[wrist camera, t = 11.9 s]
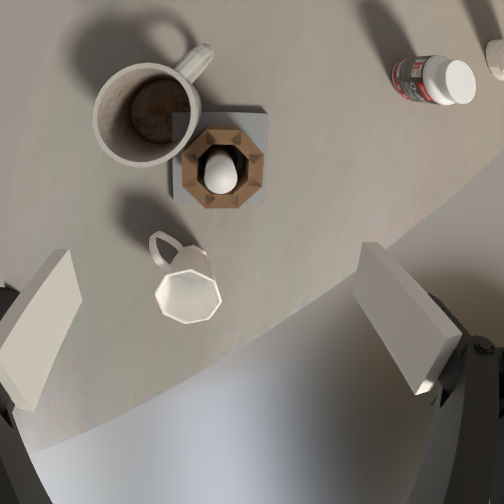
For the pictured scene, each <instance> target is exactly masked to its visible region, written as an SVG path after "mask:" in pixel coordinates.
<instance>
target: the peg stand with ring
mask: <svg viewBox="0 0 504 504" xmlns="http://www.w3.org/2000/svg"><path fill="white" fill-rule="evenodd" d="M268 117H269V114H267V113H246V112H201V117H200V121H199V124H198V126H197V128H196V130H195V131H194V133H193V134H192V136H191V137H190V139H189V140H188V141H187V143H186V144H185V146H184V147H183V148H182V149H181V150H180V151H179V152H178V153H177V154H176V155H175V156H173V157H172V158H173V197H174V203H199V202H198V201H197V200H196V199H195V198H194V197H193V196H192V195H191V194H190V193H189V192H188V191H186V190H185V189H184V188H183V187H182V152H183V151H184V149H185V148H186V146H187V145H188V144H189V143H190V142H191V141H192V140H193V139H194V138H195V137H196V136H197V135H198V134H199V133H200V132H201V131H202V130H203V129H204V128H205V127H206V126H207V125H237V126H238V127H239V128H240V129H241V130H242V131H243V132H244V133H245V134H246V135H247V137H248V138H249V139H250V140H251V141H252V142H253V143H254V144H255V145H256V146H257V147H258V148H259V149H260V150H261V152H262V153H263V154H264V166H263V182H262V187H261V188H260V189H259V190H258V191H257V192H256V193H255V194H253V195H252V196H251V197H250V198H249V199H248V200H247V201H246V202H245V203H263V198H264V183H265V167H266V150H267V134H268ZM190 118H191V112H174V113H172V143H173V142H175V141H177V140H179V139H180V138H182V137H183V136H184V135H185V134H186V132H187V129H188V127H189V123H190ZM242 167H243V153H242V152H241V151H240V150H239V149H238V148H237V147H236V146H235V145H223V144H212V145H211V146H210V147H209V148H208V149H207V150H206V151H205V152H204V153H203V154H202V155H201V156H200V168H201V169H202V170H203V171H204V172H205V176H204V180H205V184H206V186H207V188H208V189H209V190H210V191H212V192H214V193H217V194H224V193H227V192H229V191H231V190H232V189H233V188H234V187H235V185H236V183H237V173H236V172H238V171H239V170H240V169H241V168H242Z"/></svg>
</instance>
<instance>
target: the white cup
mask: <svg viewBox="0 0 504 504" xmlns="http://www.w3.org/2000/svg"><path fill="white" fill-rule="evenodd" d="M486 60H487V64H488V67H489V69H490V70H491V72H492V74H493V75H494V76H495V77H496V78H497V79H498V80H503V81H504V39H501V40H492V41H490V42H488V44H487V47H486Z"/></svg>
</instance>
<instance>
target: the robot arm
mask: <svg viewBox="0 0 504 504" xmlns="http://www.w3.org/2000/svg"><path fill="white" fill-rule="evenodd" d="M352 294H353V295H354V297H355V298H356V300H357V301H358V303H359V304H360V306H361V308H362V309H363V310H364V312H365V314H366V315H367V317H368V318H369V320H370V322H371V323H372V325H373V326H374V328H375V329H376V331H377V333H378V334H379V336H380V337H381V339H382V341H383V342H384V344H385V346H386V347H387V349H388V350H389V352H390V354H391V355H392V357H393V359H394V360H395V362H396V364H397V365H398V367H399V369H400V370H401V372H402V374H403V375H404V377H405V379H406V380H407V382H408V384H409V386H410V387H411V389H412V391H413V392H414V394H415V395H417V394H420V393H424V392H427V391H430V390H431V389H432V387H433V386H434V384H435V383H436V381H437V379H438V380H439V381H440V383H441V384H442V386H441V387H440V389H439V391H438V392H437V394H436V395H435V397H434V398H433V400H432V401H431V403H430V405H431V406H432V405H433V404H434V402H435V401H436V406H435V410H434V415H433V419H432V424H431V428H430V432H429V436H428V440H427V444H426V447H425V451H424V454H423V457H422V461H421V464H420V467H419V470H418V473H417V477H416V479H415V482H414V485H413V488H412V491H411V494H410V496H409V499H408V501H407V504H489V499H490V504H504V348H498V347H495V346H494V344H493V343H492V342H491V341H489V340H488V339H486V338H485V337H482V336H471V335H470V334H469V333H468V332H467V330H466V329H465V328H464V327H463V326H462V325H461V323H460V322H459V321H458V320H457V319H456V318H455V317H454V316H452V313H451V312H450V311H449V310H448V309H446V307H445V305H444V304H443V303H441V301H440V300H439V299H437V298H436V297H434V296H433V295H431V294H429V293H426V292H425V291H424V290H423V289H422V288H421V287H420V285H418V283H417V282H416V281H415V280H414V279H413V278H412V277H411V276H410V275H409V274H408V273H407V272H406V271H405V270H404V269H403V268H402V267H401V266H400V265H399V264H398V263H397V262H396V260H395V259H393V257H391V255H390V254H389V253H388V252H387V251H386V250H385V249H384V248H383V247H382V246H381V245H379V244H378V243H377V242H363V244H362V249H361V254H360V259H359V264H358V268H357V273H356V277H355V282H354V286H353V290H352ZM81 303H82V297H81V294H80V290H79V287H78V283H77V279H76V276H75V272H74V268H73V264H72V259H71V255H70V251H69V249H55V250H54V251H53V253H52V254H51V255H50V256H49V257H48V259H47V260H46V261H45V262H44V263H43V265H42V266H41V267H40V268H39V270H38V271H37V272H36V273H35V275H34V276H33V277H32V278H31V280H30V281H29V282H28V284H27V285H26V286H25V287H24V289H23V290H22V291H21V293H20V294H19V293H18V292H16V291H13V290H11V289H8V288H3V287H0V504H53V503H52V502H51V500H50V498H49V496H48V495H47V493H46V491H45V489H44V487H43V485H42V483H41V481H40V479H39V477H38V475H37V473H36V471H35V469H34V467H33V464H32V462H31V460H30V458H29V456H28V453H27V451H26V448H25V446H24V444H23V441H22V439H21V436H20V434H19V431H18V428H17V426H16V423H15V420H14V417H13V414H12V411H13V409H14V406H15V405H16V406H17V408H19V409H23V410H27V411H31V412H34V411H35V408H36V406H37V403H38V400H39V397H40V395H41V392H42V390H43V387H44V384H45V382H46V379H47V377H48V375H49V372H50V370H51V367H52V365H53V363H54V360H55V358H56V356H57V353H58V351H59V349H60V346H61V344H62V342H63V340H64V338H65V336H66V333H67V331H68V329H69V327H70V325H71V323H72V321H73V319H74V317H75V315H76V313H77V311H78V309H79V307H80V305H81Z"/></svg>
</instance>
